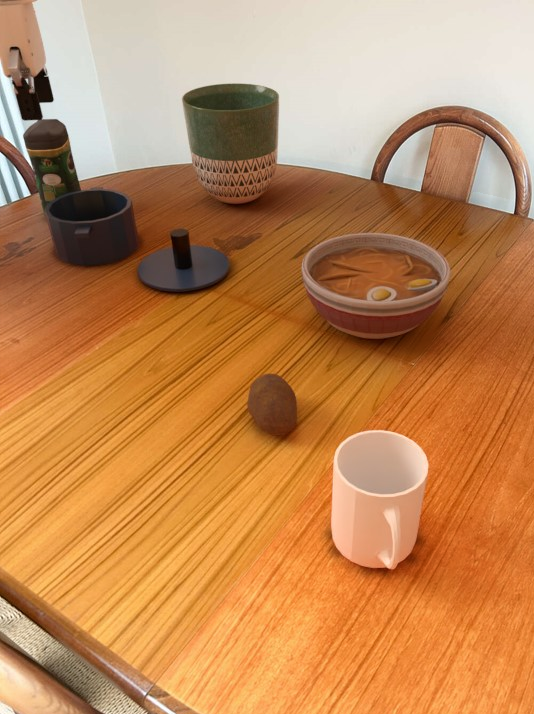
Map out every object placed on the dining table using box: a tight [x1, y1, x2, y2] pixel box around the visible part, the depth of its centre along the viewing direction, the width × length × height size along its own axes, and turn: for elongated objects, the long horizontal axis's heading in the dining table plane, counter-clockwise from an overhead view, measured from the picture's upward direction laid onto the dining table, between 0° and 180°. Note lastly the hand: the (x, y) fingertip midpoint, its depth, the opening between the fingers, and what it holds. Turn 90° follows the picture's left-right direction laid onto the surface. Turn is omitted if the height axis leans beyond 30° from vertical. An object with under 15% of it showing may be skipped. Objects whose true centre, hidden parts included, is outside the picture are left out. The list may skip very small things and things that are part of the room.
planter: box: [181, 82, 280, 205], centre depth 139 cm, size 20×20×21 cm
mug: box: [330, 429, 429, 570], centre depth 68 cm, size 10×12×12 cm
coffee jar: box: [22, 118, 82, 218], centre depth 134 cm, size 10×8×19 cm
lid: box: [137, 228, 231, 293], centre depth 118 cm, size 17×17×8 cm
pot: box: [44, 186, 139, 267], centre depth 125 cm, size 16×21×8 cm
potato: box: [246, 373, 298, 436], centre depth 86 cm, size 7×10×6 cm
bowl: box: [301, 232, 452, 340], centre depth 104 cm, size 23×23×10 cm
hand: (38, 110), depth 109 cm, fingers open, 9 cm apart
